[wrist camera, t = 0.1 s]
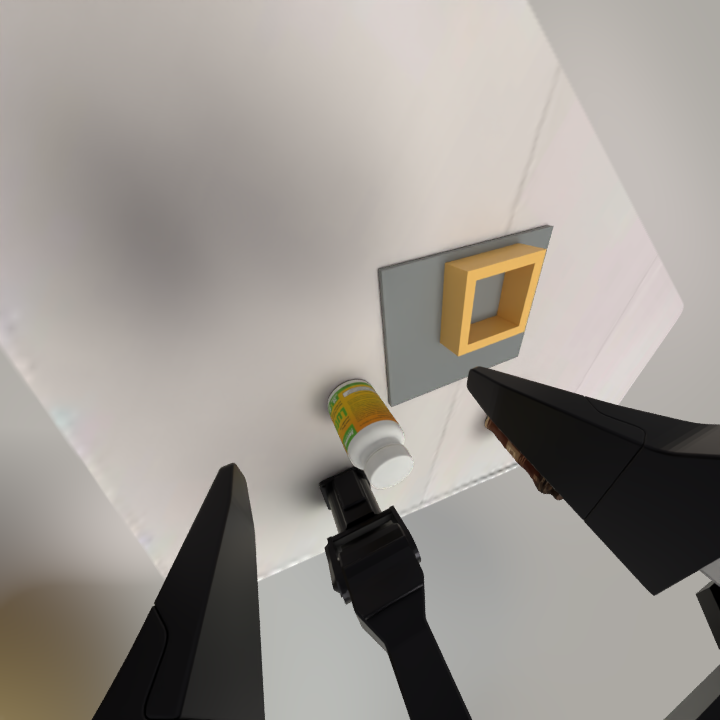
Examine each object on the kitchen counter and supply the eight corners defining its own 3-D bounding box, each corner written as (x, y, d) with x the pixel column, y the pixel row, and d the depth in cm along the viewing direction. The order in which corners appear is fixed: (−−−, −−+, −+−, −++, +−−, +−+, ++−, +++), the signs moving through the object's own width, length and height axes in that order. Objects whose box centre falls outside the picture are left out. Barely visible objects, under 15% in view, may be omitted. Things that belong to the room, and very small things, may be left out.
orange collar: (502, 320, 31) (524, 331, 29) (439, 342, 29) (458, 356, 27) (518, 243, 26) (546, 248, 24) (444, 263, 24) (467, 271, 22)
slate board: (514, 354, 37) (517, 356, 36) (389, 403, 32) (391, 407, 32) (547, 225, 27) (553, 226, 27) (378, 269, 23) (381, 271, 22)
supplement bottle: (325, 384, 27) (363, 462, 20) (374, 373, 29) (426, 441, 21) (327, 423, 30) (360, 504, 22) (371, 411, 32) (416, 482, 24)
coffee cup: (490, 397, 40) (578, 468, 30) (529, 387, 43) (621, 450, 33) (472, 438, 45) (544, 513, 35) (509, 427, 48) (584, 492, 38)
